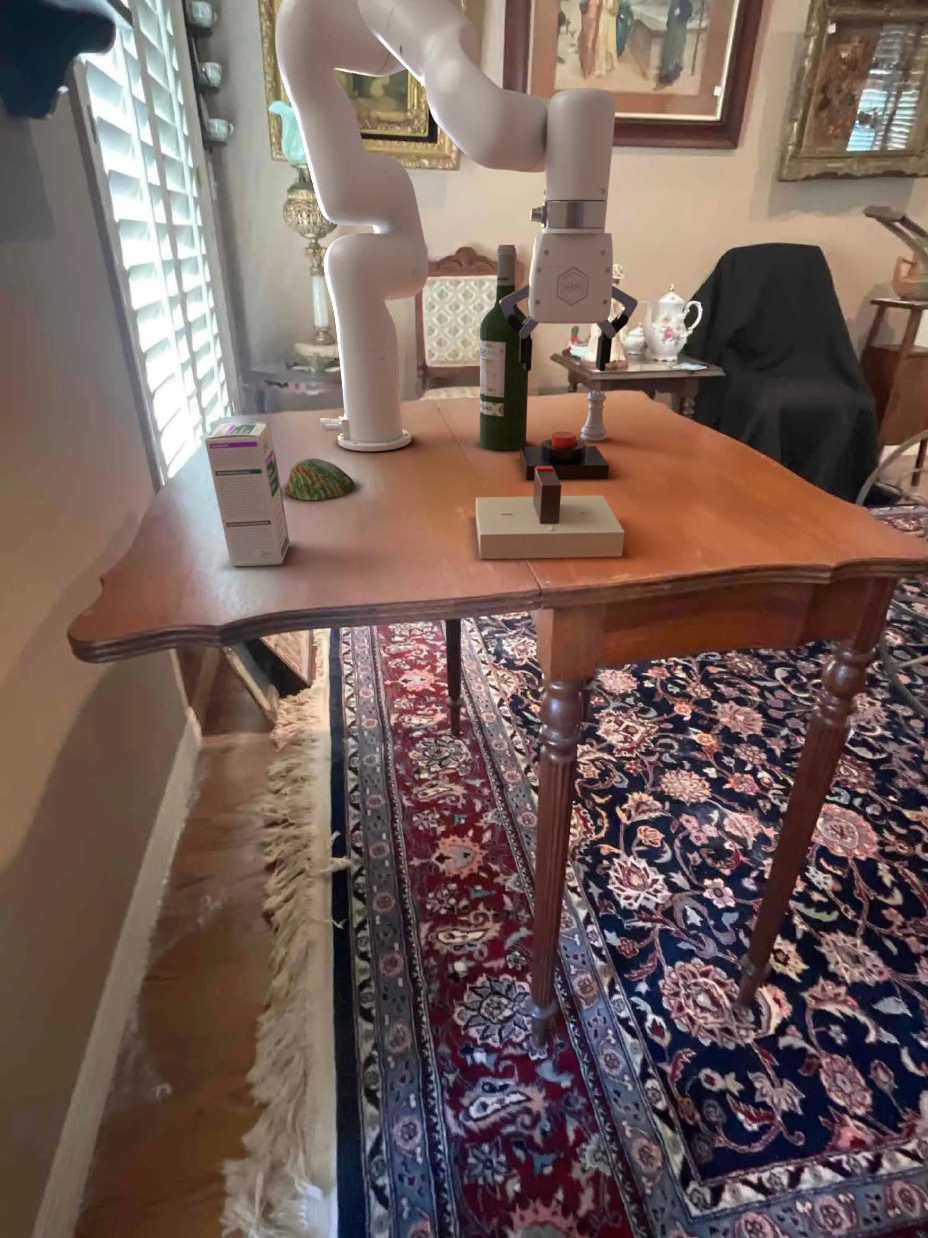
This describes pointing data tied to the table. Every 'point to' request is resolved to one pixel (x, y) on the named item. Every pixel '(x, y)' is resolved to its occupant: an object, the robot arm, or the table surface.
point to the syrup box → (248, 493)
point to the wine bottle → (502, 368)
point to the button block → (565, 461)
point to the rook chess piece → (594, 418)
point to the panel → (547, 529)
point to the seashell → (317, 480)
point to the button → (563, 439)
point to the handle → (547, 494)
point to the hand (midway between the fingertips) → (563, 369)
